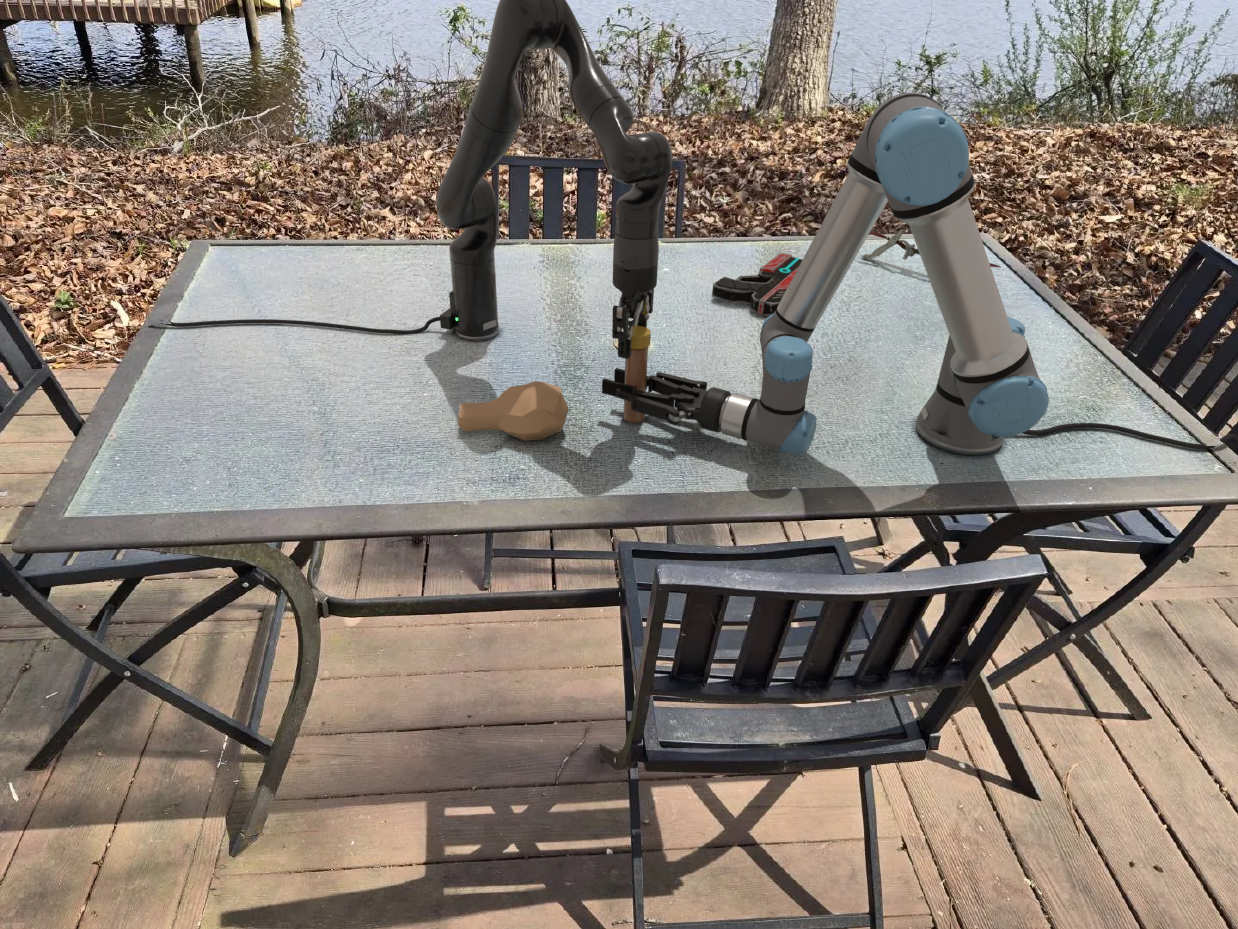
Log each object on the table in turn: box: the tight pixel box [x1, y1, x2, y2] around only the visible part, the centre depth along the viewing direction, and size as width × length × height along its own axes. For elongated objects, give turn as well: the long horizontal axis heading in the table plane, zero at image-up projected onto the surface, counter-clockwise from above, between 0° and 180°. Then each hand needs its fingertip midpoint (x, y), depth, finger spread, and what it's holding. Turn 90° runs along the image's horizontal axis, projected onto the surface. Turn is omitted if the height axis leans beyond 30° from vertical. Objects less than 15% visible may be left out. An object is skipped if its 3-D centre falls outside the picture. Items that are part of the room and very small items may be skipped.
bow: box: [861, 228, 1002, 277], centre depth 225 cm, size 39×2×10 cm, turn 47°
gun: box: [711, 252, 803, 317], centre depth 215 cm, size 4×31×19 cm
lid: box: [628, 326, 652, 349], centre depth 155 cm, size 5×5×2 cm
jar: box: [622, 346, 649, 424], centre depth 159 cm, size 4×4×17 cm
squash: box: [457, 380, 570, 442], centre depth 157 cm, size 11×20×9 cm, turn 90°
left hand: (632, 348), depth 155 cm, fingers open, 7 cm apart
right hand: (609, 380), depth 162 cm, fingers closed on jar, 4 cm apart
